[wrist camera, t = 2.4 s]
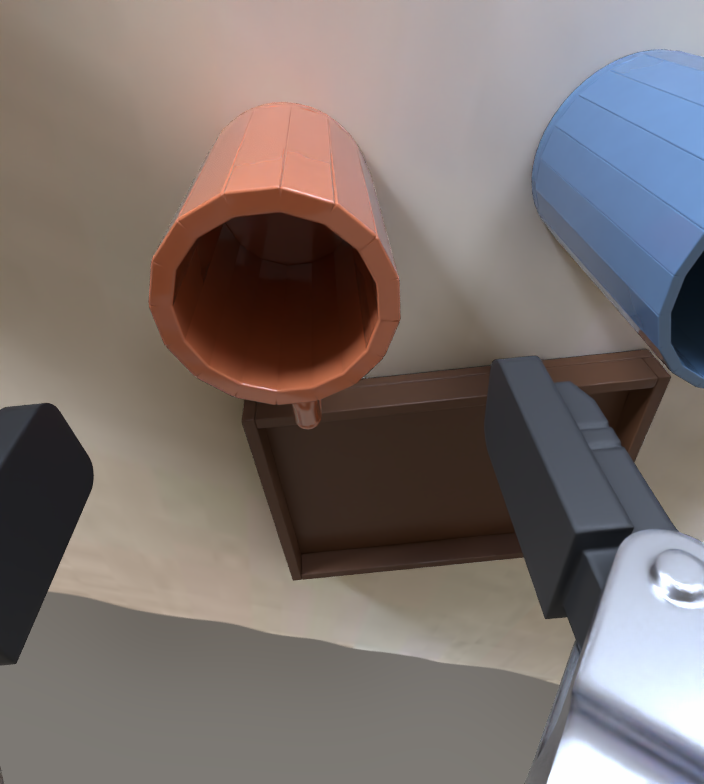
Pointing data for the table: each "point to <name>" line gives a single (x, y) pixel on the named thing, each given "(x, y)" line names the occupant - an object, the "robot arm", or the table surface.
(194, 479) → the table surface
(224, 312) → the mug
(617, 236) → the glass
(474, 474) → the tray
